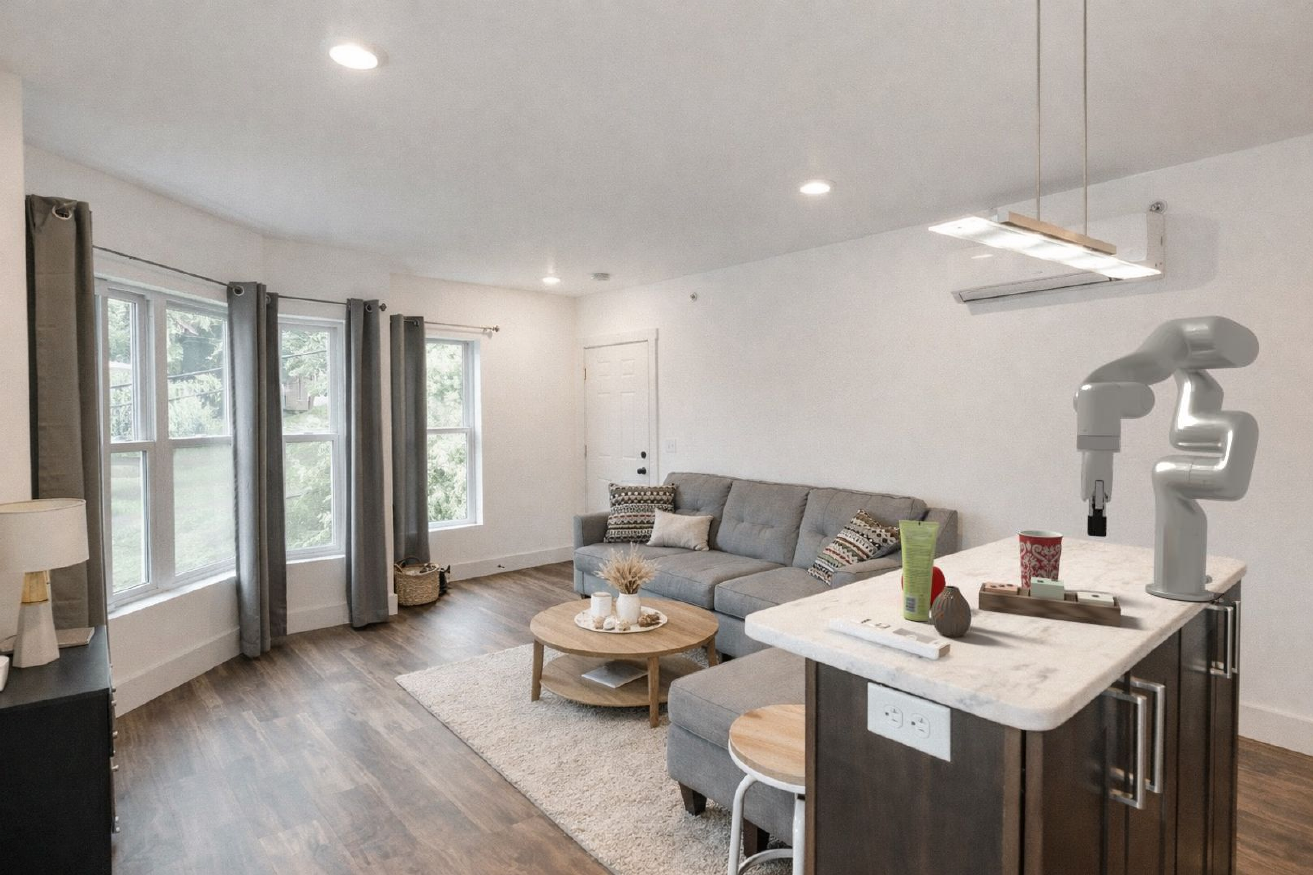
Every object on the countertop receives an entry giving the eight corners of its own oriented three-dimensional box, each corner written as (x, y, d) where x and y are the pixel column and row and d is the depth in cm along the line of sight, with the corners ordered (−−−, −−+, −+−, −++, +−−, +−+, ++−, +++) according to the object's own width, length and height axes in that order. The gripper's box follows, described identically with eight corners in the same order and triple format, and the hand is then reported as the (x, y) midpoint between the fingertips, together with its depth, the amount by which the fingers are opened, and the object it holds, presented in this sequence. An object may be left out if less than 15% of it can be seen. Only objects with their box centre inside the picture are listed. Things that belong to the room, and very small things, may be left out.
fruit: (955, 606, 153) (956, 559, 153) (923, 611, 149) (924, 563, 149) (921, 595, 161) (922, 551, 161) (891, 600, 157) (891, 554, 157)
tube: (920, 613, 147) (921, 518, 146) (937, 620, 142) (939, 522, 141) (897, 616, 145) (898, 519, 144) (914, 623, 140) (916, 523, 140)
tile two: (1063, 594, 150) (1063, 578, 150) (1063, 600, 145) (1064, 584, 144) (1030, 590, 153) (1031, 575, 153) (1030, 597, 147) (1030, 581, 147)
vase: (924, 628, 137) (925, 582, 136) (959, 627, 137) (960, 582, 137) (941, 640, 130) (942, 591, 130) (978, 639, 130) (979, 591, 130)
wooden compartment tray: (1116, 613, 147) (1116, 596, 147) (1120, 626, 138) (1120, 608, 138) (982, 598, 159) (982, 582, 159) (978, 609, 150) (978, 592, 150)
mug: (1047, 598, 159) (1048, 537, 159) (1008, 589, 167) (1010, 531, 167) (1078, 591, 166) (1080, 533, 165) (1040, 583, 174) (1041, 527, 173)
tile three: (1017, 598, 154) (1017, 583, 154) (1016, 605, 149) (1016, 589, 149) (986, 595, 157) (987, 580, 157) (984, 601, 152) (984, 586, 151)
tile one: (1111, 609, 146) (1111, 593, 146) (1113, 617, 141) (1114, 600, 140) (1077, 605, 149) (1077, 590, 149) (1078, 612, 143) (1078, 596, 143)
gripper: (1075, 442, 152) (1073, 528, 153) (1078, 446, 139) (1076, 540, 140) (1117, 443, 149) (1115, 531, 150) (1124, 447, 136) (1122, 543, 136)
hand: (1096, 535), depth 145 cm, fingers closed
